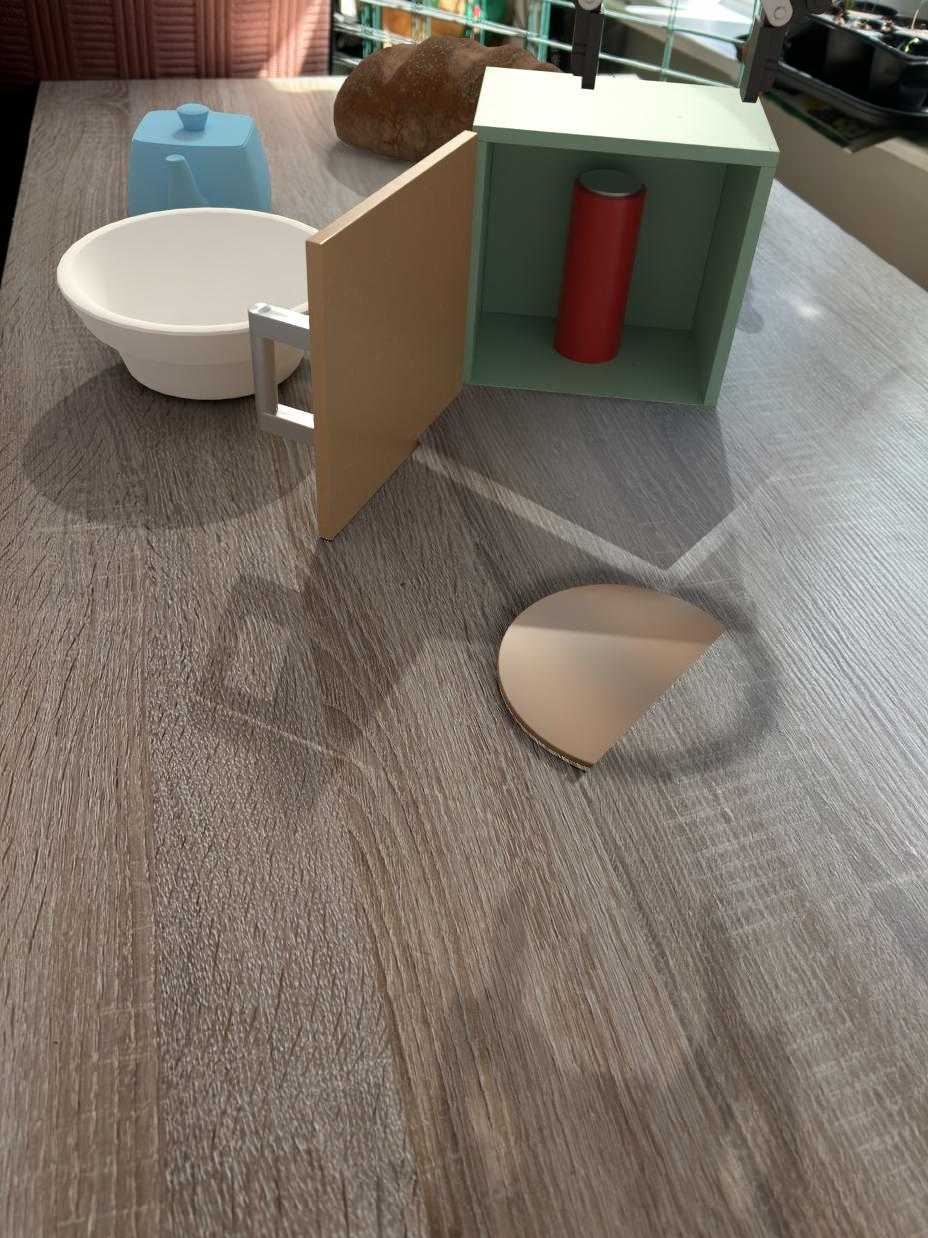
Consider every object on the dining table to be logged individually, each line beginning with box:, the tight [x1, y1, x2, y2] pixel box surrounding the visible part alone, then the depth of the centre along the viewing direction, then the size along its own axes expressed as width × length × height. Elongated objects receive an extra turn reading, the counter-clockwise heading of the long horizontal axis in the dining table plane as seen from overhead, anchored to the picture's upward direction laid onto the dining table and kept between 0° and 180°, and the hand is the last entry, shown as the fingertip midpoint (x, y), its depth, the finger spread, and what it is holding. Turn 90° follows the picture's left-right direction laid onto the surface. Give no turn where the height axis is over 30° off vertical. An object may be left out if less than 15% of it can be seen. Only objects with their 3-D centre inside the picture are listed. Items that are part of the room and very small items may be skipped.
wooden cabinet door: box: [248, 130, 478, 541], centre depth 69 cm, size 6×20×20 cm, turn 155°
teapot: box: [127, 103, 273, 218], centre depth 96 cm, size 12×18×12 cm
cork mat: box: [496, 583, 728, 769], centre depth 61 cm, size 15×15×1 cm
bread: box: [332, 35, 565, 163], centre depth 118 cm, size 16×29×11 cm, turn 85°
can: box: [554, 170, 647, 363], centre depth 83 cm, size 5×5×14 cm
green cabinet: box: [462, 67, 781, 408], centre depth 81 cm, size 13×20×20 cm, turn 85°
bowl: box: [56, 208, 320, 401], centre depth 81 cm, size 21×21×8 cm
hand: (666, 91), depth 57 cm, fingers open, 8 cm apart
